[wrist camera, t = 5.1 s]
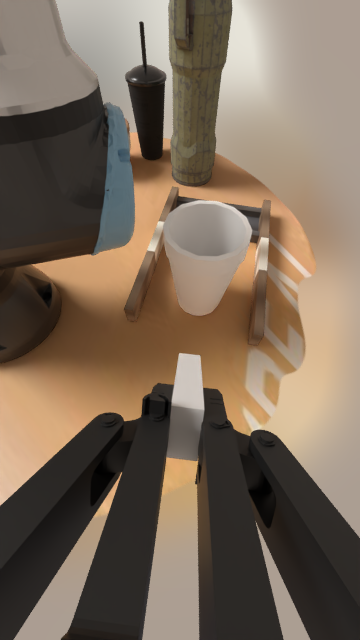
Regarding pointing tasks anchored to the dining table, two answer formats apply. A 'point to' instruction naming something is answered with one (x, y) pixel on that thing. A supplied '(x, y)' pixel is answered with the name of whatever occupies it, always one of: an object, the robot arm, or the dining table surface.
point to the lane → (260, 235)
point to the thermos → (196, 83)
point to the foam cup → (204, 251)
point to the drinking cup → (148, 104)
